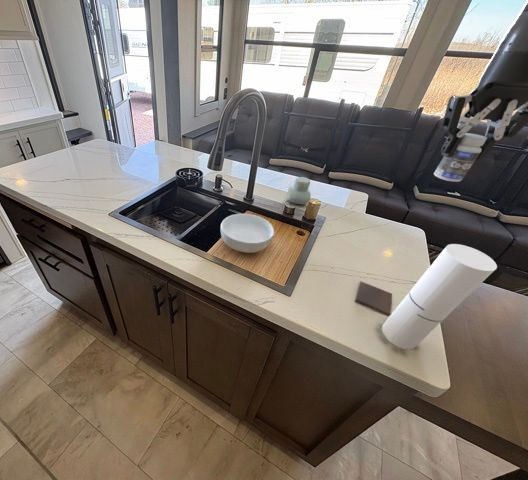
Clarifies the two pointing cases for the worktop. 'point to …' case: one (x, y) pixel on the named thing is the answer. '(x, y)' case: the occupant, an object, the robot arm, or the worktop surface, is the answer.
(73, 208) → the worktop surface
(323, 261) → the worktop surface
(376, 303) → the plate
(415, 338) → the cylindrical container
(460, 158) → the pill bottle
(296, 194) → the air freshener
